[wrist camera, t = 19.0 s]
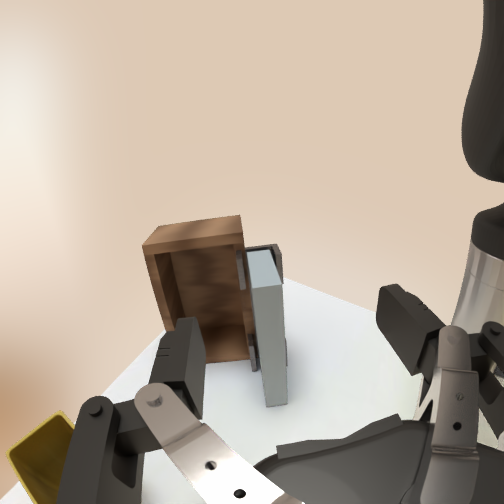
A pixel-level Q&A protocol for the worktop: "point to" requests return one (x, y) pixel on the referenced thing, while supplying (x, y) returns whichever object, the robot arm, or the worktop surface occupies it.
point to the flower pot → (42, 458)
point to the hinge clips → (278, 263)
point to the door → (269, 325)
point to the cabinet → (203, 283)
